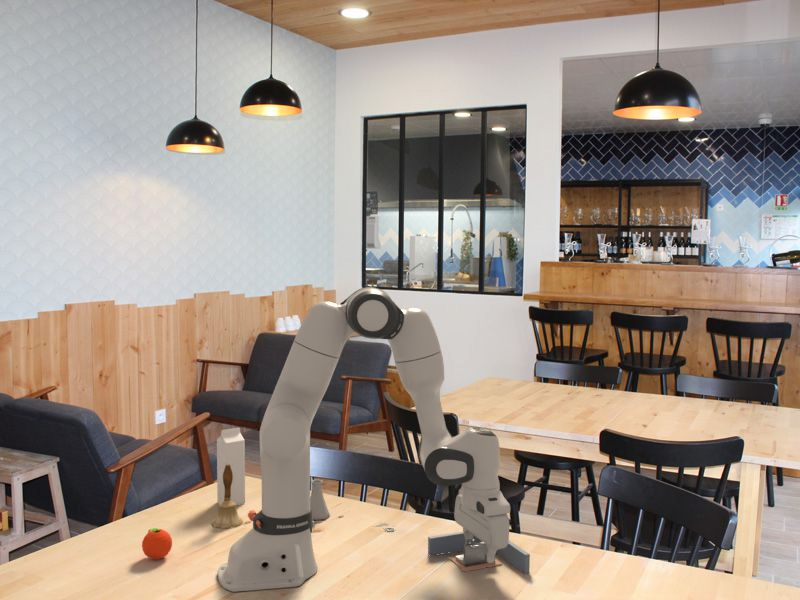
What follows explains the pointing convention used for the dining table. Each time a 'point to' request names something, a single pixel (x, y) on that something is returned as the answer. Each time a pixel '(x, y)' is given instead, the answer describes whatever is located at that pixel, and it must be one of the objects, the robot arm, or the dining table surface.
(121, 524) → the dining table surface
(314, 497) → the flask
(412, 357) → the robot arm
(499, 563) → the mat
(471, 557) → the angle bracket
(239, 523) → the wooden handled brush
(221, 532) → the dining table surface
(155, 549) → the clementine
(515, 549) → the grey l-shaped piece
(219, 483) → the milk
